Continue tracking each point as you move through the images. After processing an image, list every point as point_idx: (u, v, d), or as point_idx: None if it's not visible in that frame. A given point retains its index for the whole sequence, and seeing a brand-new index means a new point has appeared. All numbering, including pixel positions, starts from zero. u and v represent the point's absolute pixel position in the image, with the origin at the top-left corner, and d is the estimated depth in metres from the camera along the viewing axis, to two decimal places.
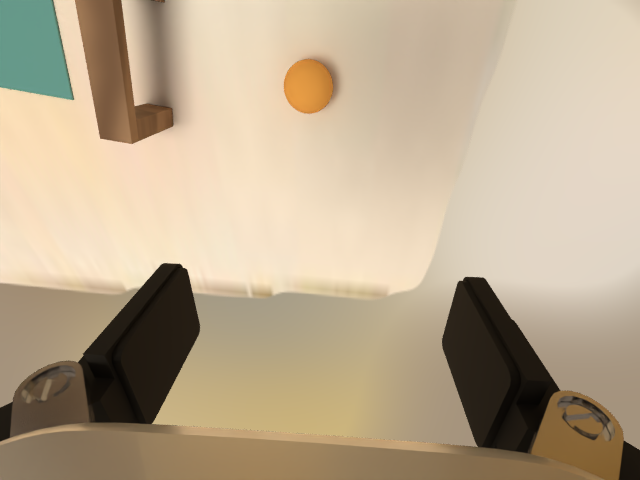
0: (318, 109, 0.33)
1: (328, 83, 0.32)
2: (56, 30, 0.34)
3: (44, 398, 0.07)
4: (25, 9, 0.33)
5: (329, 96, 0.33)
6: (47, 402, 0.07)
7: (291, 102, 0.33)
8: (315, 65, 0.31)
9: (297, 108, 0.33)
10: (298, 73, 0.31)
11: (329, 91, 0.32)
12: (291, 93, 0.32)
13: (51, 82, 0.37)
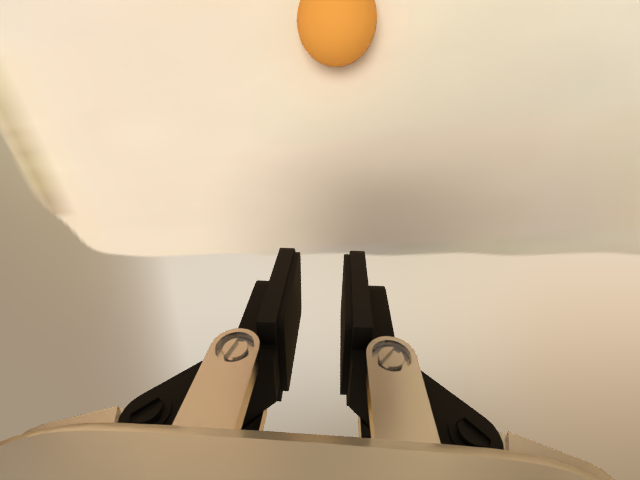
0: (307, 46, 0.20)
1: (347, 58, 0.20)
2: None
3: (227, 356, 0.08)
4: None
5: (328, 63, 0.21)
6: (226, 363, 0.07)
7: None
8: (370, 30, 0.19)
9: (302, 4, 0.19)
10: None
11: (336, 62, 0.21)
12: None
13: None
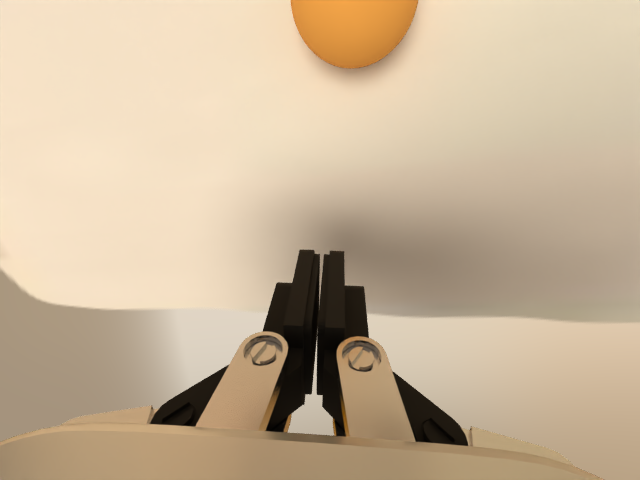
0: (306, 36, 0.13)
1: (371, 56, 0.13)
2: None
3: (255, 359, 0.08)
4: None
5: (340, 62, 0.13)
6: (253, 366, 0.07)
7: None
8: (410, 8, 0.12)
9: None
10: None
11: (352, 61, 0.13)
12: None
13: None
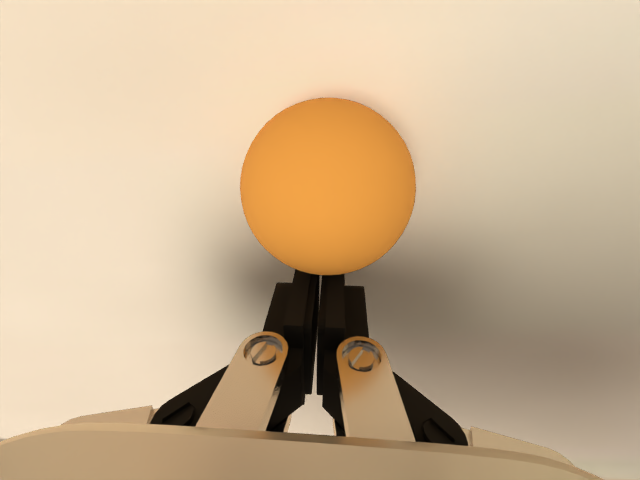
0: (259, 241, 0.09)
1: (348, 272, 0.09)
2: None
3: (255, 359, 0.08)
4: None
5: None
6: (253, 366, 0.07)
7: (265, 138, 0.08)
8: (402, 226, 0.08)
9: (248, 166, 0.08)
10: (380, 173, 0.07)
11: (322, 274, 0.09)
12: (300, 144, 0.07)
13: None
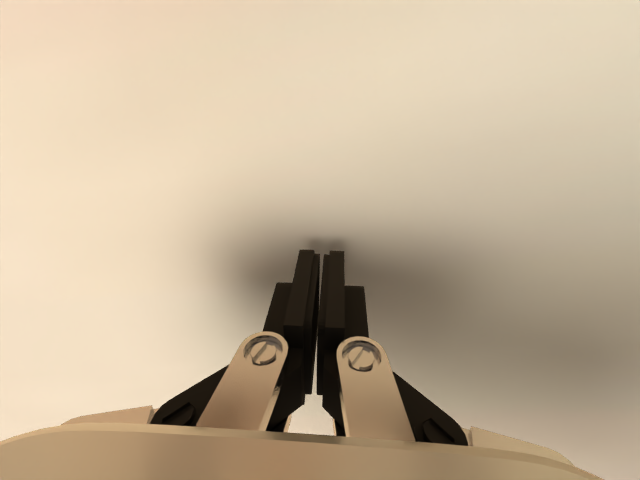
0: None
1: None
2: None
3: (255, 359, 0.08)
4: None
5: None
6: (253, 366, 0.07)
7: None
8: None
9: None
10: None
11: None
12: None
13: None
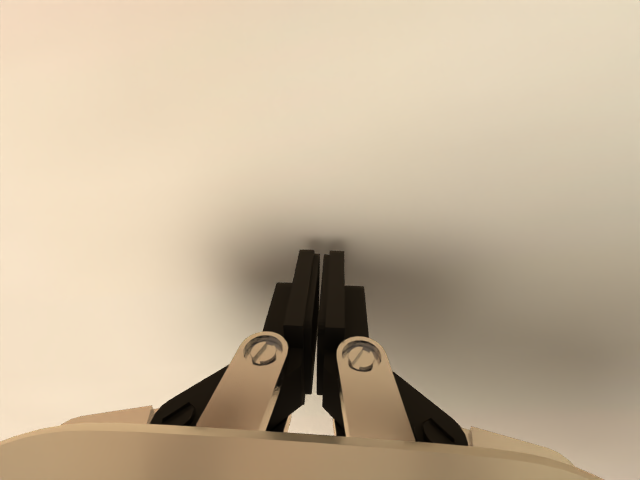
0: None
1: None
2: None
3: (255, 359, 0.08)
4: None
5: None
6: (253, 366, 0.07)
7: None
8: None
9: None
10: None
11: None
12: None
13: None
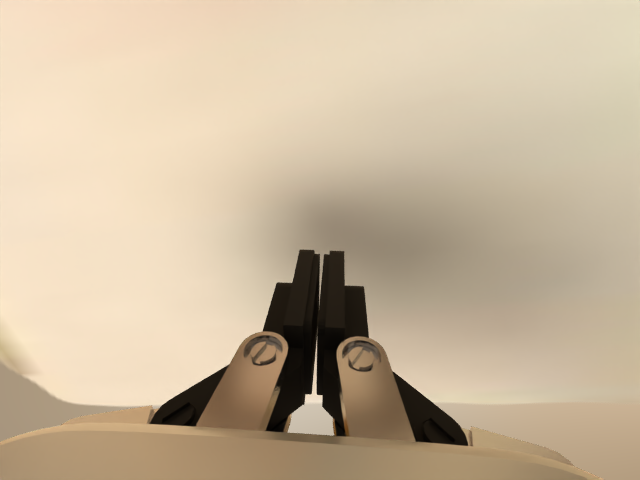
0: None
1: None
2: None
3: (255, 359, 0.08)
4: None
5: None
6: (253, 366, 0.07)
7: None
8: None
9: None
10: None
11: None
12: None
13: None
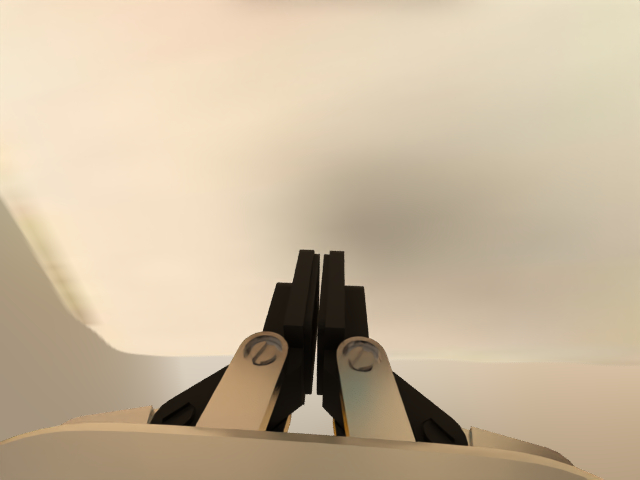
0: None
1: None
2: None
3: (255, 359, 0.08)
4: None
5: None
6: (253, 366, 0.07)
7: None
8: None
9: None
10: None
11: None
12: None
13: None
